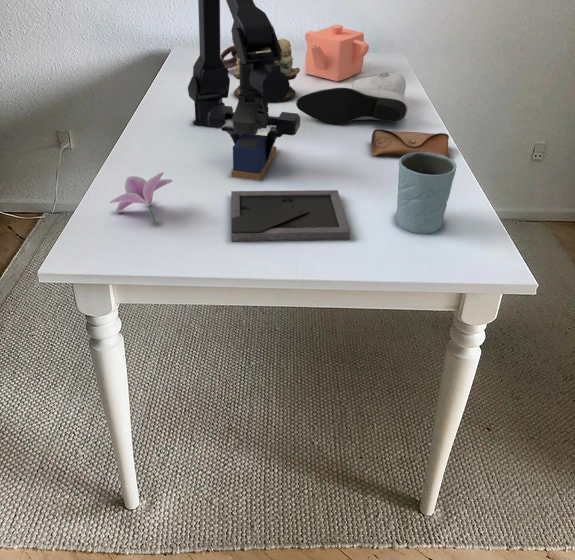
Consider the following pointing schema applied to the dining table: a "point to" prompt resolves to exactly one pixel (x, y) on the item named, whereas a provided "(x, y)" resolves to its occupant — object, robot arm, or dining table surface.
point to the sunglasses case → (408, 143)
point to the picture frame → (288, 216)
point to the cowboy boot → (358, 101)
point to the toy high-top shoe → (251, 156)
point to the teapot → (335, 52)
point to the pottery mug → (233, 60)
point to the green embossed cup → (423, 191)
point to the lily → (140, 191)
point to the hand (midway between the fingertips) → (254, 157)
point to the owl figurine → (285, 68)
